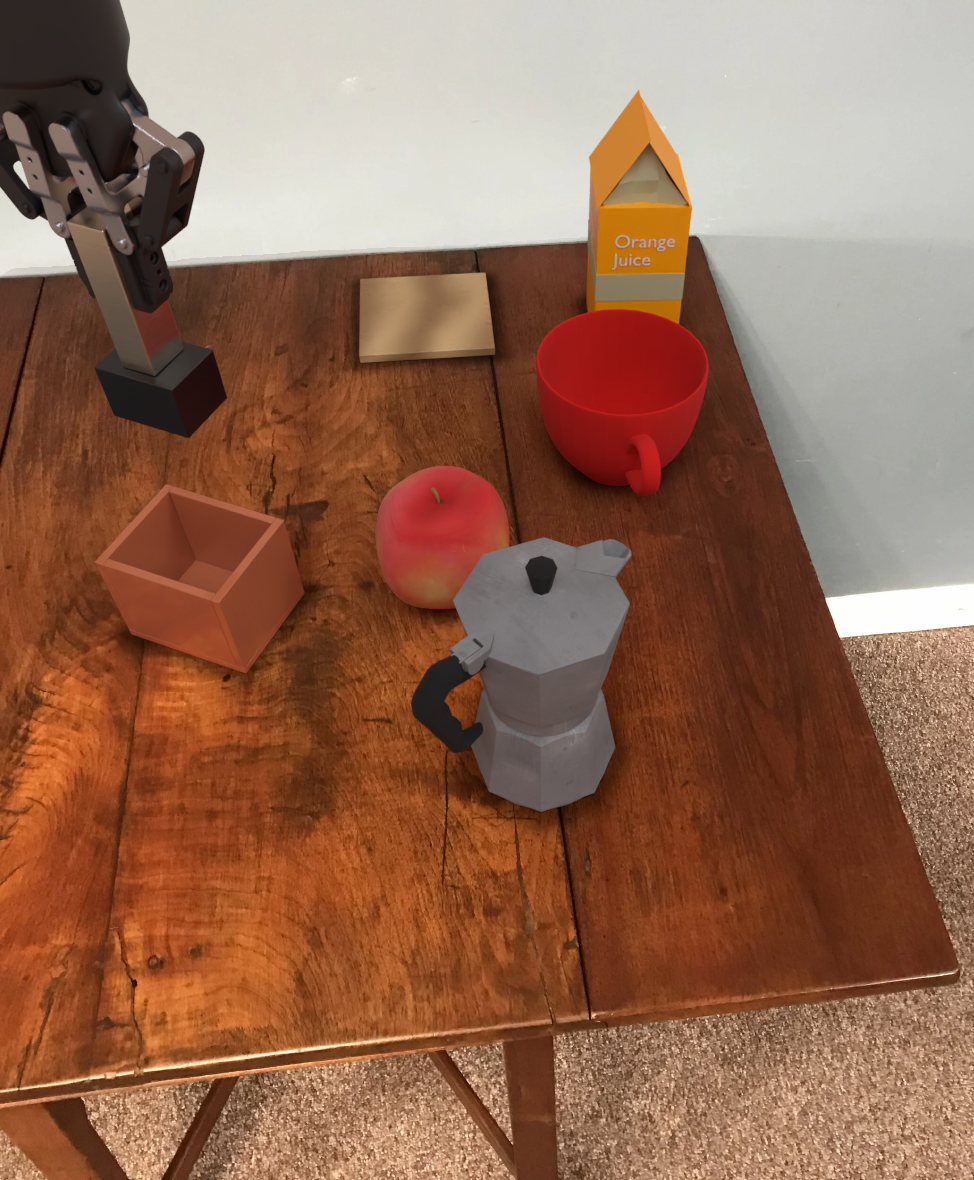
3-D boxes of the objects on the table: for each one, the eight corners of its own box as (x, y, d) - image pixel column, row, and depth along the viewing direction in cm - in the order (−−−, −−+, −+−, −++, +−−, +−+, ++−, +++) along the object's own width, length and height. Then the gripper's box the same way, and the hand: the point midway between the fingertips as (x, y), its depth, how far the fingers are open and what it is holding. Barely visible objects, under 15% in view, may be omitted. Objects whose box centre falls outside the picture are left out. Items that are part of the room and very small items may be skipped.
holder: (130, 634, 71) (93, 561, 65) (195, 557, 76) (166, 483, 70) (246, 674, 69) (218, 602, 63) (305, 592, 74) (284, 519, 68)
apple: (535, 563, 76) (534, 464, 69) (479, 658, 71) (470, 562, 63) (420, 526, 78) (406, 426, 71) (357, 615, 73) (334, 516, 65)
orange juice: (665, 299, 99) (685, 88, 83) (676, 356, 93) (701, 140, 78) (584, 301, 98) (590, 88, 83) (591, 358, 92) (598, 141, 77)
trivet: (360, 363, 91) (359, 355, 90) (361, 285, 99) (360, 278, 98) (495, 355, 92) (495, 347, 92) (485, 279, 100) (485, 272, 99)
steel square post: (113, 415, 61) (32, 221, 51) (155, 376, 63) (84, 183, 54) (188, 438, 60) (120, 244, 50) (227, 398, 62) (169, 204, 52)
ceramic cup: (560, 562, 77) (561, 463, 69) (525, 415, 87) (523, 315, 79) (727, 540, 78) (746, 442, 71) (673, 399, 89) (684, 301, 81)
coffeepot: (565, 649, 71) (569, 458, 57) (665, 733, 67) (695, 548, 53) (388, 787, 64) (344, 605, 50) (489, 889, 60) (470, 722, 46)
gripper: (200, -64, 43) (281, 291, 57) (-65, -115, 46) (71, 235, 59) (84, 0, 39) (201, 369, 52) (-202, -61, 41) (-22, 305, 55)
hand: (131, 296), depth 56 cm, fingers closed on steel square post, 2 cm apart
